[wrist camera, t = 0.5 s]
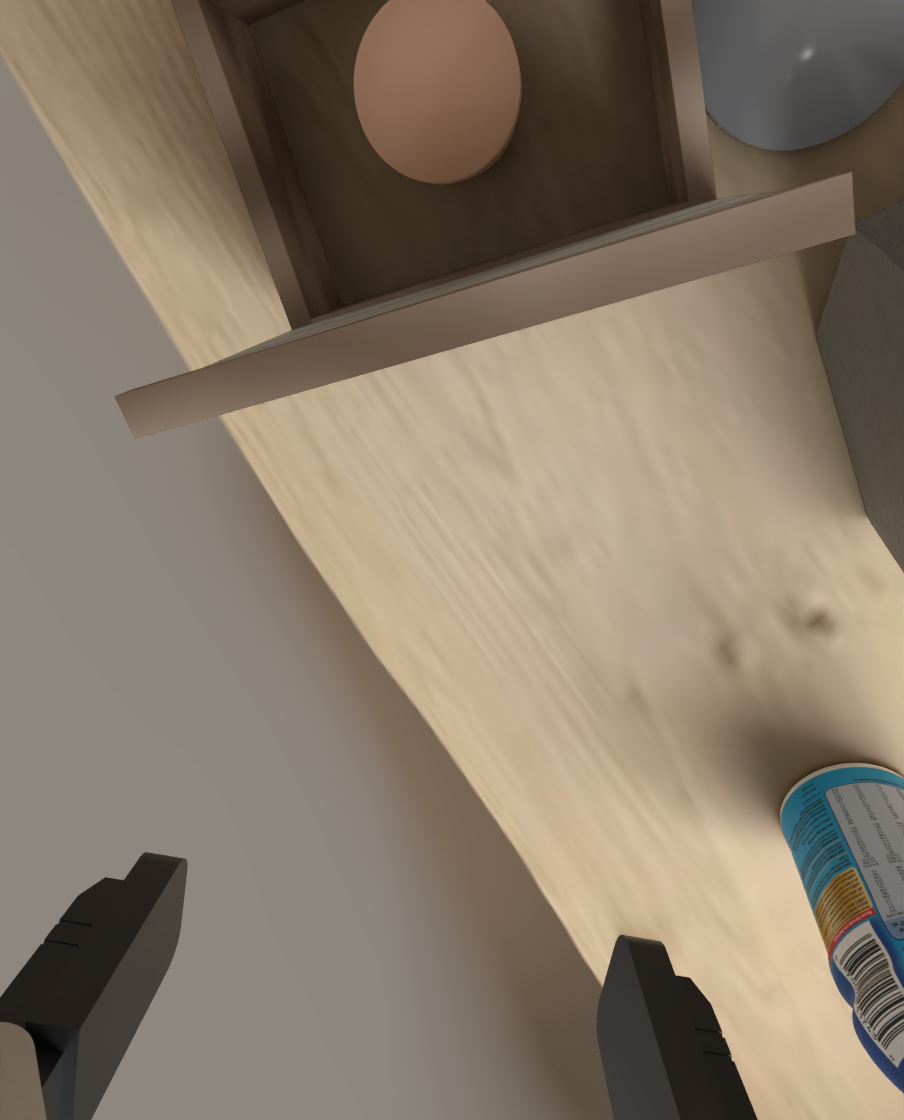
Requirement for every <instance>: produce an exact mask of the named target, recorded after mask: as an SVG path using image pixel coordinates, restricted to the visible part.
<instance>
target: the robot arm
mask: <svg viewBox="0 0 904 1120" xmlns="http://www.w3.org/2000/svg"><path fill="white" fill-rule="evenodd" d="M186 876H187V860H186V859H183V858H177V857H172V856H166V855H160V854H154V853H148V852H145V853H144V854H142V856H141V857H140V858H139V859H138V861H137V862H136V864H135V865H134V867H133V868H132V870H131V871H130V872H129V874H128V875H127V876H126V878H125V879H124V880H118V879H112V878H107V877H106V878H104V879H102V880H101V881H99V882H98V883H96V884H95V885H93V886H92V887H90V888H89V889H87V890H86V891H84V892H83V893H81V894H80V895H79V896H78V897H77V898H76V899H75V900H74V902H73V903H72V904H71V906H70V907H69V908H68V910H67V911H66V912H65V914H64V915H63V916H62V917H61V919H60V921H59V924H57V925H55V927H54V928H53V929H52V930H51V932H50V933H49V934H48V936H47V937H46V938H45V941H44V944H43V945H42V944H41V945H40V946H39V947H38V949H37V950H36V951H35V953H34V954H33V955H32V957H31V958H30V959H29V961H28V962H27V963H26V964H25V966H24V967H23V968H22V970H21V971H20V972H19V974H18V975H17V976H16V977H15V979H14V980H13V981H12V983H11V984H10V985H9V987H8V988H7V989H6V991H5V992H4V993H3V995H2V996H1V997H0V1120H91V1119H92V1117H93V1115H94V1113H95V1111H96V1109H97V1107H98V1105H99V1103H100V1101H101V1099H102V1097H103V1095H104V1093H105V1091H106V1090H107V1087H108V1086H109V1084H110V1082H111V1080H112V1077H113V1076H114V1074H115V1072H116V1070H117V1068H118V1066H119V1064H120V1062H121V1060H122V1058H123V1056H124V1054H125V1052H126V1050H127V1049H128V1047H129V1045H130V1043H131V1041H132V1039H133V1037H134V1035H135V1033H136V1031H137V1029H138V1027H139V1025H140V1023H141V1021H142V1019H143V1017H144V1015H145V1013H146V1011H147V1009H148V1008H149V1005H150V1004H151V1002H152V1000H153V998H154V996H155V994H156V992H157V990H158V988H159V986H160V984H161V982H162V980H163V978H164V976H165V974H166V972H167V970H168V968H169V966H170V964H171V961H172V958H173V956H174V953H175V950H176V946H177V943H178V939H179V934H180V929H181V921H182V912H183V911H182V910H183V903H184V893H185V885H186ZM597 1038H598V1044H599V1049H600V1053H601V1058H602V1063H603V1068H604V1073H605V1078H606V1083H607V1087H608V1092H609V1097H610V1102H611V1107H612V1112H613V1117H614V1120H758V1119H757V1117H756V1114H755V1112H754V1110H753V1107H752V1105H751V1102H750V1100H749V1097H748V1095H747V1092H746V1090H745V1087H744V1085H743V1082H742V1080H741V1077H740V1075H739V1072H738V1070H737V1067H736V1065H735V1063H734V1062H733V1061H732V1059H731V1056H732V1055H731V1053H730V1050H729V1048H728V1045H727V1043H726V1040H725V1038H723V1037H722V1030H721V1028H720V1025H719V1023H718V1020H717V1018H716V1016H715V1013H714V1011H713V1008H712V1006H711V1004H710V1002H709V1001H708V1000H707V999H706V997H705V996H704V995H703V994H702V992H701V991H700V990H699V989H698V987H697V986H696V985H695V984H694V982H693V981H692V980H691V979H690V978H688V977H682V976H676V975H675V973H674V970H673V968H672V965H671V962H670V959H669V957H668V954H667V951H666V948H665V946H664V945H663V943H662V942H660V941H655V940H650V939H644V938H638V937H632V936H626V935H620V936H619V937H618V938H617V941H616V943H615V946H614V950H613V953H612V957H611V961H610V964H609V968H608V971H607V975H606V978H605V982H604V985H603V989H602V992H601V996H600V999H599V1005H598V1011H597Z"/></svg>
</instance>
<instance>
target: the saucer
mask: <svg viewBox="0 0 904 1120" xmlns="http://www.w3.org/2000/svg"><path fill="white" fill-rule="evenodd" d="M692 7H693V15H694V23H695V31H696V39H697V47H698V55H699V63H700V70H701V78H702V86H703V94H704V102H705V110H706V112H707V114H708V115H709V117H710V118H711V119H712V120H713V122H714V123H715V124H716V125H717V126H718V127H719V128H720V129H721V130H723V131H724V132H725V133H727V134H728V135H729V136H730V137H732V138H734V139H736V140H737V141H739V142H741V143H743V144H746V145H749V146H751V147H754V148H758V149H764V150H769V151H790V150H799V149H803V148H807V147H811V146H815V145H818V144H821V143H824V142H827V141H829V140H832V139H834V138H837V137H838V136H840V135H842V134H844V133H846V132H848V131H850V130H851V129H853V128H854V127H856V126H857V125H859V124H860V123H862V122H863V121H865V120H866V119H867V118H868V117H869V116H871V115H872V114H873V113H874V112H875V111H877V110H878V109H879V108H880V107H881V106H882V105H883V104H884V103H885V102H886V101H887V100H888V99H889V98H890V97H891V95H892V94H893V93H894V92H895V91H896V89H897V88H898V87H899V85H900V84H901V83H902V82H903V80H904V0H692Z"/></svg>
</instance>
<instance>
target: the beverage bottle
mask: <svg viewBox="0 0 904 1120" xmlns="http://www.w3.org/2000/svg"><path fill="white" fill-rule="evenodd" d="M780 823H781V828H782V831H783V834H784V836H785V839H786V842H787V844H788V846H789V848H790V850H791V852H792V855H793V858H794V861H795V864H796V866H797V869H798V872H799V875H800V877H801V880H802V883H803V886H804V889H805V891H806V894H807V897H808V900H809V903H810V905H811V908H812V911H813V914H814V917H815V919H816V922H817V925H818V928H819V931H820V933H821V936H822V939H823V942H824V945H825V947H826V950H827V953H828V960H829V966H830V970H831V973H832V976H833V979H834V981H835V983H836V985H837V988H838V990H839V992H840V993H841V995H842V997H843V998H844V999H845V1001H846V1002H847V1003H848V1004H849V1005H850V1006H851V1007H852V1008H853V1014H852V1017H853V1025H854V1028H855V1031H856V1034H857V1036H858V1038H859V1040H860V1042H861V1043H862V1045H863V1047H864V1048H865V1050H866V1051H867V1053H868V1054H869V1056H870V1057H871V1059H872V1060H873V1061H874V1063H875V1064H876V1065H877V1066H878V1068H879V1069H880V1070H881V1071H882V1072H883V1073H884V1074H885V1075H886V1077H887V1078H888V1079H889V1080H890V1081H891V1082H892V1083H893V1084H894V1085H895V1086H896V1087H897V1088H898V1089H899V1090H901V1091H902V1092H903V1093H904V778H903V777H902V776H901V775H899V774H897V773H896V772H894V771H892V770H889V769H887V768H884V767H881V766H877V765H872V764H866V763H844V764H837V765H833V766H829V767H825V768H822V769H820V770H817V771H815V772H813V773H811V774H809V775H807V776H806V777H804V778H803V779H801V780H800V781H799V782H798V783H797V784H795V785H794V786H793V787H792V789H791V790H790V791H789V792H788V794H787V795H786V797H785V799H784V801H783V804H782V807H781V812H780Z"/></svg>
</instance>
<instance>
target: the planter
mask: <svg viewBox="0 0 904 1120" xmlns="http://www.w3.org/2000/svg"><path fill="white" fill-rule="evenodd" d="M855 233H856V234H854V235H851V236H847V240H846V243H845V246H844V249H843V252H842V255H841V258H840V261H839V264H838V268H837V271H836V274H835V277H834V280H833V283H832V286H831V289H830V292H829V296H828V299H827V302H826V305H825V308H824V311H823V314H822V317H821V320H820V324H819V327H818V330H817V334H816V339H817V343H818V346H819V349H820V353H821V356H822V360H823V363H824V367H825V370H826V374H827V377H828V381H829V384H830V388H831V391H832V395H833V398H834V402H835V405H836V409H837V412H838V416H839V419H840V423H841V426H842V429H843V433H844V436H845V440H846V443H847V447H848V450H849V454H850V457H851V461H852V464H853V468H854V471H855V475H856V478H857V482H858V485H859V489H860V492H861V496H862V499H863V503H864V506H865V510H866V513H867V516H868V518H869V520H870V522H871V524H872V526H873V527H874V529H875V530H876V532H877V533H878V535H879V536H880V538H881V539H882V541H883V542H884V544H885V545H886V547H887V548H888V550H889V551H890V553H891V554H892V556H893V557H894V559H895V560H896V562H897V563H898V565H899V566H900V568H901V569H902V571H903V572H904V200H902V201H900V202H897V203H895V204H893V205H891V206H889V207H887V208H885V209H882V210H880V211H878V212H876V213H874V214H872V215H870V216H867V217H865V218H863V219H861V220H859V221H857V222H855Z"/></svg>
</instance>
